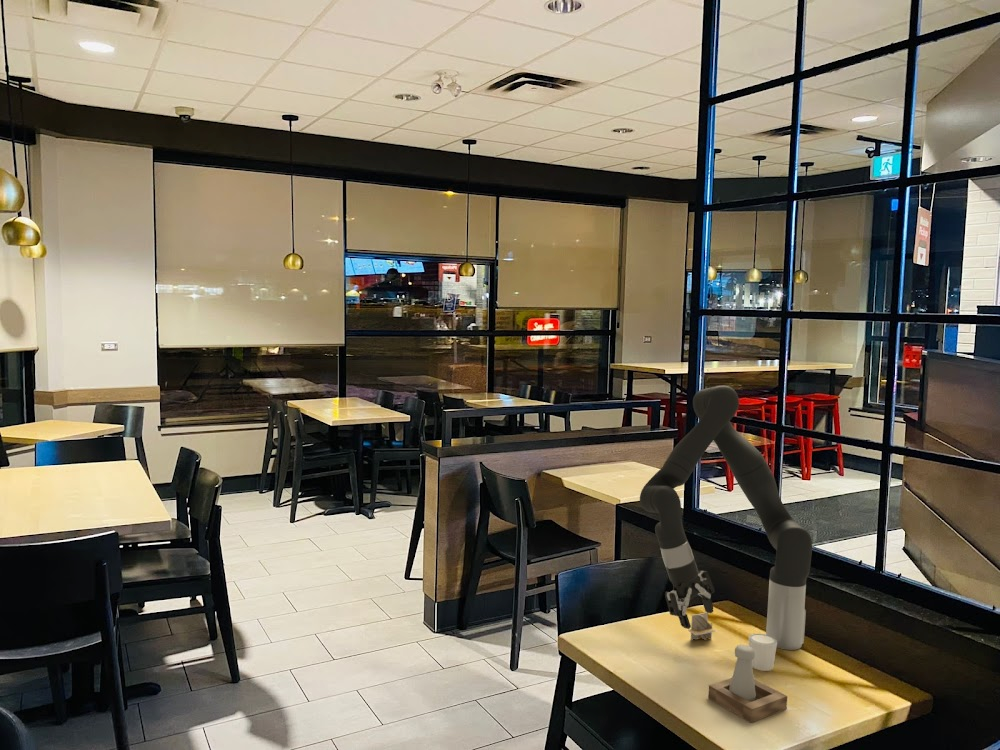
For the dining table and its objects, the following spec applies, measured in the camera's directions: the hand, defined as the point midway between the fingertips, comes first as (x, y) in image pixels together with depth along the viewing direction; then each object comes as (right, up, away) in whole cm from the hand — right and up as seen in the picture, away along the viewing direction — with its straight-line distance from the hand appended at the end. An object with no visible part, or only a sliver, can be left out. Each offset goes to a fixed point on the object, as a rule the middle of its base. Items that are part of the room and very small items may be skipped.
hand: (698, 620), depth 189 cm
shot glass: (+16, -11, -1) cm, 19 cm away
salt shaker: (+4, -12, -20) cm, 24 cm away
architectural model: (+4, -10, +14) cm, 18 cm away
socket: (+5, -12, -20) cm, 24 cm away
